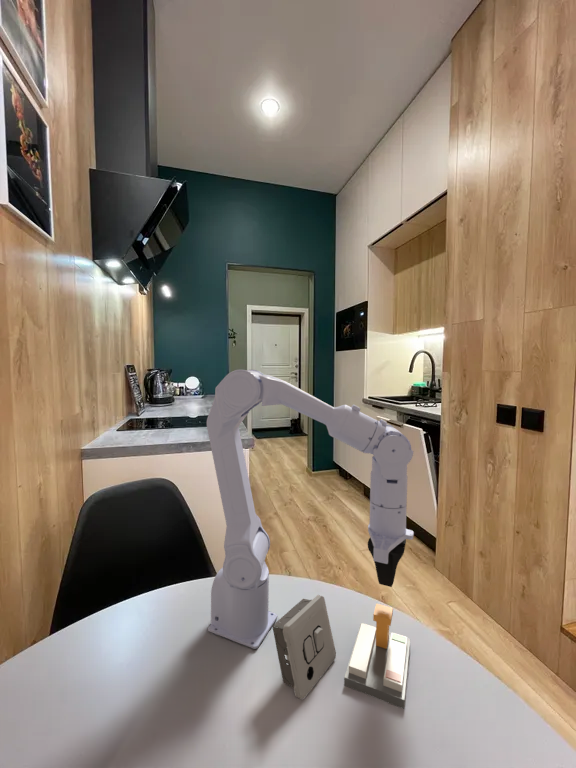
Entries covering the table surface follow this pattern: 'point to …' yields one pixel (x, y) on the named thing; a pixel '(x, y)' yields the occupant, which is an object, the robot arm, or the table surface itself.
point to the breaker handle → (382, 624)
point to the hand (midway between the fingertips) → (385, 583)
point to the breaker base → (379, 666)
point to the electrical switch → (304, 644)
